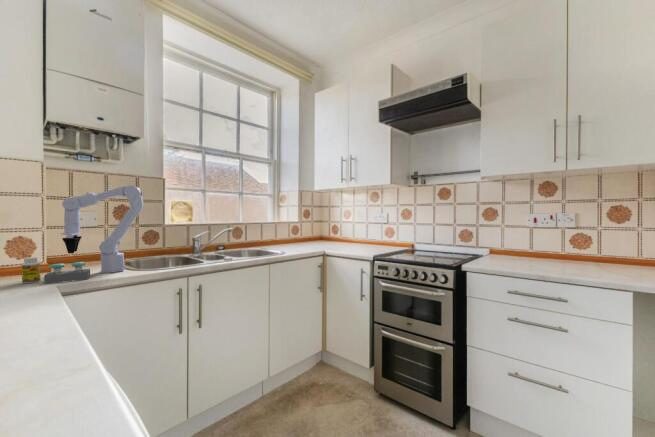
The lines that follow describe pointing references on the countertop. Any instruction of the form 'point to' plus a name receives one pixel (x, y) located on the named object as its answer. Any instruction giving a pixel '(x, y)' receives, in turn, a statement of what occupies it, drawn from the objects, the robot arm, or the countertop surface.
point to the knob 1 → (57, 267)
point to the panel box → (66, 276)
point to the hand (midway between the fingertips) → (72, 252)
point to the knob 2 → (78, 266)
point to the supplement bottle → (30, 270)
